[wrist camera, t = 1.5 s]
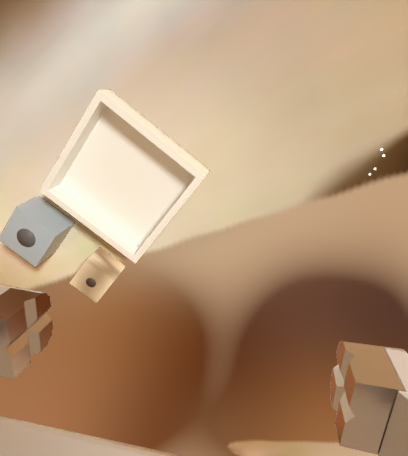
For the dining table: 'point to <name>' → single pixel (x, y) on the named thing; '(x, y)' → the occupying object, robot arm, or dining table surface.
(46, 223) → the slate block
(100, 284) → the maple block
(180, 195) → the cream tray
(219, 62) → the dining table surface
